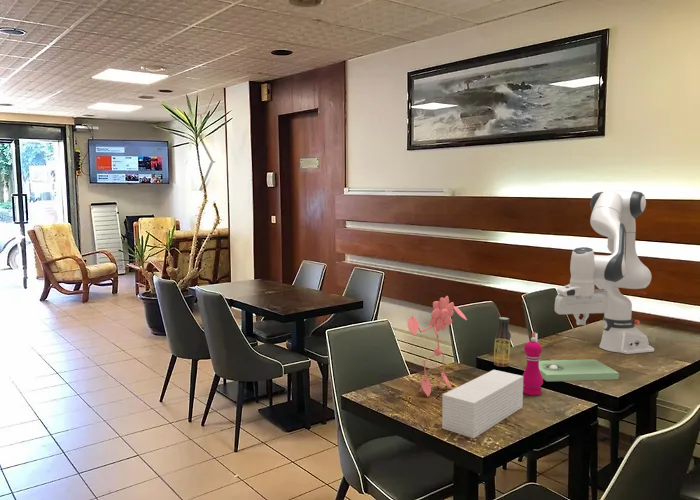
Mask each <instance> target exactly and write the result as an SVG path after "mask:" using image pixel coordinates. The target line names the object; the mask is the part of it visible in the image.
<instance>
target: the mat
mask: <svg viewBox="0 0 700 500" xmlns="http://www.w3.org/2000/svg"><path fill="white" fill-rule="evenodd" d="M532 337H534V338H536V341H535V342H538V332H537V333H536V332H534V331H531V338H532ZM551 365H556V366H557V367H558V369H549V367H550V366H551ZM539 370H540V373H541V375H542V378H543V381H545V382H570V381H571V382H573V381H579V382H580V381H605V380H607V381H608V380H611V381H612V380H619V377H620V373H619V372H618V371H616V370H615V369H613V368H612V367H609V366H608V365H606V364H605V363H603V362H601V361H599V360H597V359H596V358H591V359H589V358H585V359H553V360H552V359H550V360H539Z"/></svg>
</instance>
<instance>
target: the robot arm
mask: <svg viewBox="0 0 700 500" xmlns="http://www.w3.org/2000/svg"><path fill="white" fill-rule="evenodd" d="M646 206H647V200H646V197H645V194H643V192H641V191H635V190H634V191H629V190H616V191H615V190H614V191H613V190H607V191H600V192H596V193H595V194H593V195H592V197H591V198H590V210H591V215H590V220H589V222H590V223H589V224H590V226H591V228H592V230H594V232H596V233H597V234H599V235H601V236H603V237H606V238H607V249H608V251H609V252H610V253H611V254H610V255H609V254H608V255H603V254H602V255H601V254H595V252H594V249H593V248H590V247H587V246H586V247H585V246H584V247H576V248H574V249H573V250H572V252H571V257H570V264H569V266H570V267H569V271H570V279H569V283H568V284H567V285H566V284H565V285H564V286H561V287H557V289H556V292H557V295H556V296H555V300H554V312H555V313H556V314H558V315H573V317H574V319H575V320H576V323H575V324H576V325H577V326H585V325H586V324H587V323H586V322H587V319H589V316H590V314H604V315H603V317H602V329H603V331H602V336H601V341H600V343H599V348H600V349H602V350H605V351H608V352H612V353H613V352H614V353H621V354H626V355H632V354H643V353H651V352H655V348H654V347H652V346H651V345H650V343H649V338H648V336H647V335H646V334H645V333H644V332H642V331H641V330H640V329H639V328H638V327H636V326H635V325H637V326H639V325H640V324H641V321H640V320H638V319H633V318H632V311H633V308H632V307H633V304H632V301H631V299H630V298H628V296H625V295H624V294H622V293H621V291H620V289H619V288H621V289H631V290H639V289H646V288H647V287H648V286H649V285H650V283H651V281H652V272H651V271H650V269H649V268H648V266H646V265H645V264H644V263H643V262H642V261H641V260H640V258H639V256H638V254H637V251H636V249H637V248H636V235H637V234H636V231H637V228H636V226H637V225H636V224H637V223H636V219H637V218H638V217H639V216H641V215H642V214H643V213H644V211H645V209H646V208H647V207H646ZM595 286H596V288H597V289H596V288H595ZM581 314H582V315H583V317H582V318H581V319H580V318H579V317H580V316H581Z"/></svg>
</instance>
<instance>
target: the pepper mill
mask: <svg viewBox="0 0 700 500" xmlns="http://www.w3.org/2000/svg"><path fill="white" fill-rule="evenodd" d="M535 341H536V338H534V337H532V336H531V338H530V341H528V342H526V343H525V344H524V346H523V350H524V352H525V355H524V356H525V360H526V366H525V369H524V372H523V374H522V376H523V390H522V391H523V394H525V395H529V396H540V395H541V394H542V385H543V384H544V379H543V378H542V375H541V373H540V370H539V361H541V354H542V352H543V347H542V345H541V343H540V342H538V341H537V342H535Z"/></svg>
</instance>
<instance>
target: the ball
mask: <svg viewBox="0 0 700 500" xmlns="http://www.w3.org/2000/svg"><path fill="white" fill-rule="evenodd" d="M549 369H558V367H557V366H556V365H551V366H550V367H549Z"/></svg>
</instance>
